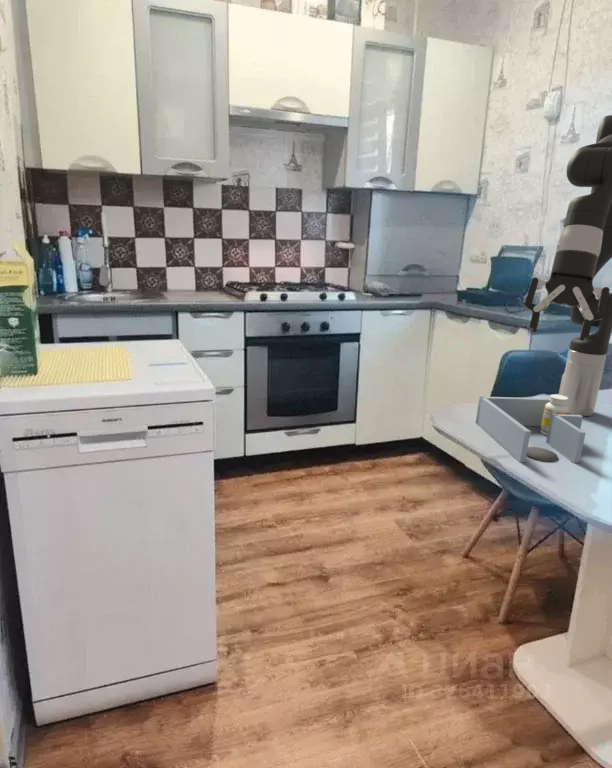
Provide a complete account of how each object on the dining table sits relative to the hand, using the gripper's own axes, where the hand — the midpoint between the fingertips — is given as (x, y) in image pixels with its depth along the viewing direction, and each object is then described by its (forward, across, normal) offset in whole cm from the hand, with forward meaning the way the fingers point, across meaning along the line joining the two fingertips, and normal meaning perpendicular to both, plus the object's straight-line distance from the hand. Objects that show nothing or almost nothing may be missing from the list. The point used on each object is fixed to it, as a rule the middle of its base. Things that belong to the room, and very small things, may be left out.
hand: (557, 336), depth 105 cm
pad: (+25, -3, -14) cm, 29 cm away
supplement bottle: (+21, -5, -30) cm, 37 cm away
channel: (+23, -1, -22) cm, 32 cm away
